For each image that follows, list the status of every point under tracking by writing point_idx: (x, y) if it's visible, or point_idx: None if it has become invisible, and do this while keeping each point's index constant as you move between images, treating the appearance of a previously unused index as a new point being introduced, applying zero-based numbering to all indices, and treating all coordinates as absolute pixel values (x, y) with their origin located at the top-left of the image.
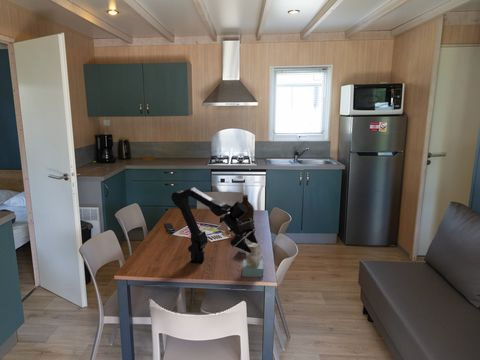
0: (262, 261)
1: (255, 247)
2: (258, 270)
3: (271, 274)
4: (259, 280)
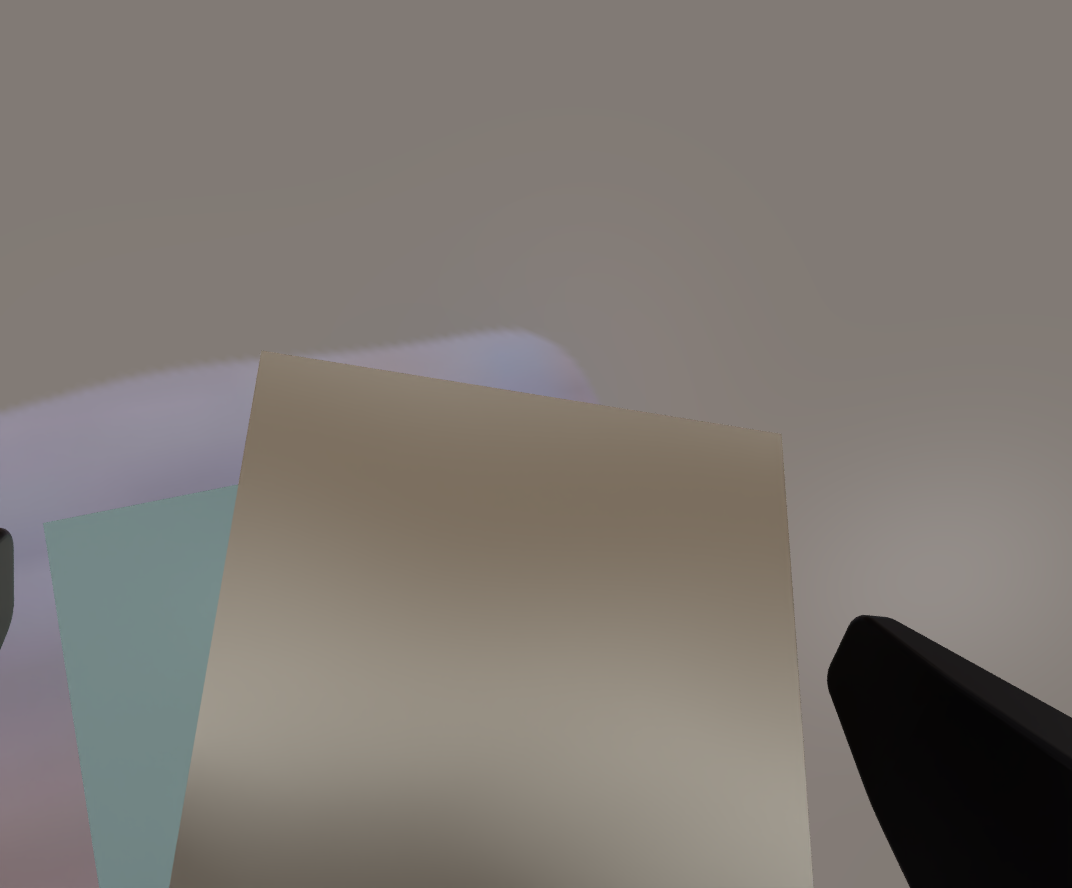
0: (150, 523)
1: (776, 451)
2: None
3: (363, 358)
4: None
